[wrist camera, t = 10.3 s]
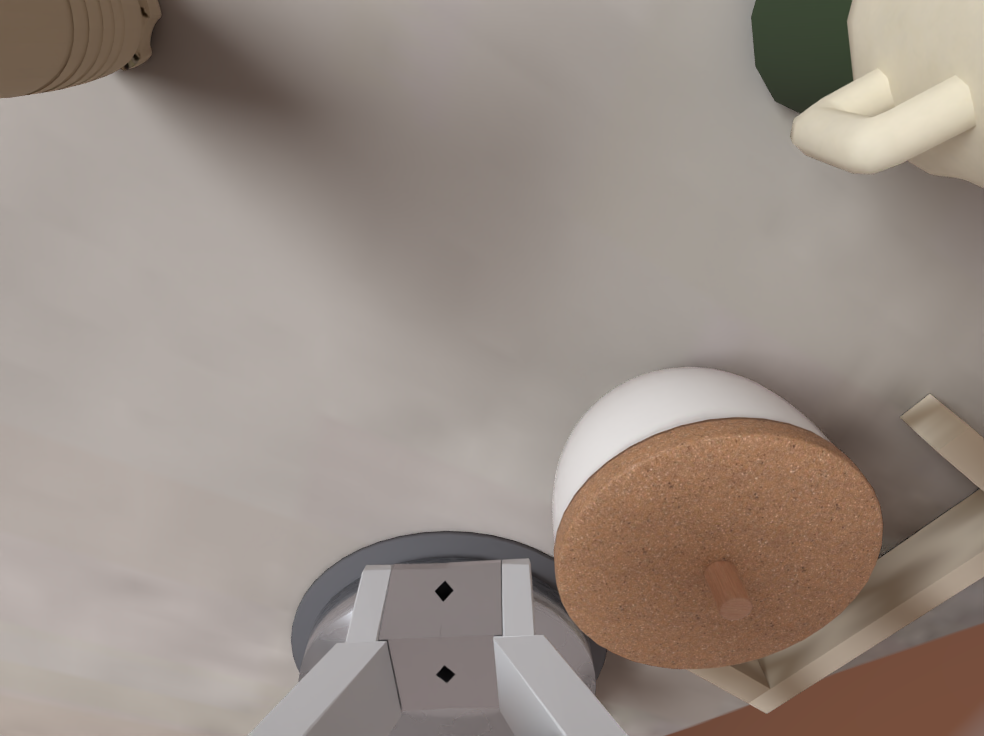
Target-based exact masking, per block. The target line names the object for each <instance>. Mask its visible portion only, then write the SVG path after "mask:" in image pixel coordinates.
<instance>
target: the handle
mask: <svg viewBox="0 0 984 736" xmlns="http://www.w3.org/2000/svg"><path fill="white" fill-rule="evenodd" d="M161 16H162V15H161V9H160V6H159V3H158V0H0V98H10V97H17V96H24V95H30V94H37V93H43V92H49V91H55V90H61V89H65V88H69V87H72V86H76V85H80V84H84V83H87V82H90V81H93V80H96V79H99V78H102V77H105V76H107V75H109V74H111V73H113V72H115V71H117V70H119V69H122V70H123V71H124V70H128V69H131V68H134V67H137V66H139V65H141V64H142V63H144V62H145V61H147V60H148V59H149V58H150V56H151V55H152V49H151V47H150V40H151V34H152V31H153V28H154V25H155V24H156V22H157V20H158V19H160V18H161Z"/></svg>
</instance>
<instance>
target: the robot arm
mask: <svg viewBox="0 0 984 736" xmlns="http://www.w3.org/2000/svg"><path fill="white" fill-rule="evenodd" d="M447 708H500V712H501V714H502V715H503V717H504V719H505V720H506V722H507V724H508V725H509V727H510V729H511V731H512V732H513V734H514V736H628V735H627V734H626V732H625V731H624V730H623V729H622V728H621V726H620V725H619V724H618V723H617V722H616V720H615V719H614V718H613V717H612V716H611V714H610V713H609V712H608V711H607V710H606V708H605V707H604V706H603V705H602V704H601V702H600V701H599V700H598V699H597V698H596V696H595V695H594V694H593V693H592V692H591V690H590V689H589V688H588V687H587V686H586V684H585V683H584V682H583V681H582V680H581V678H580V677H579V676H578V675H577V674H576V672H575V671H574V670H573V669H572V667H571V666H570V665H569V664H568V663H567V661H566V660H565V659H564V658H563V657H562V655H561V654H560V653H559V652H558V651H557V649H556V648H555V647H554V646H553V645H552V643H551V642H550V641H549V640H548V639H547V637H546V636H545V635H536V629H535V616H534V602H533V589H532V575H531V562H530V560H529V558H526V559H506V560H502V562H501V560H486V561H468V562H449V563H428V564H394V565H366V567H365V568H364V570H363V572H362V575H361V579H360V583H359V587H358V591H357V596H356V600H355V604H354V608H353V612H352V616H351V620H350V625H349V629H348V633H347V637H346V641H345V642H344V643H336V644H335V645H334V646H333V647H332V649H331V650H330V651H329V652H328V653H327V654H326V655H325V656H324V657H323V658H322V659H321V660H320V661H319V662H318V663H317V664H316V665H315V666H314V667H313V668H312V669H311V670H310V671H309V672H308V673H307V674H306V675H305V676H304V677H303V678H302V679H301V681H300V682H299V683H298V684H297V685H296V686H295V687H294V688H293V689H292V690H291V691H290V692H289V693H288V694H287V695H286V696H285V697H284V698H283V699H282V700H281V701H280V702H279V703H278V704H277V705H276V706H275V707H274V708H273V709H272V710H271V712H270V713H269V714H268V715H267V716H266V717H265V718H264V719H263V720H262V721H261V722H260V723H259V724H258V725H257V726H256V727H255V728H254V729H253V730H252V731H251V732H250V733H249V734H248V735H247V736H388V735H389V733H390V732H391V730H392V729H393V727H394V726H395V724H396V723H397V721H398V720H399V718H400V717H401V715H402V713H401V711H417V710H432V709H447Z"/></svg>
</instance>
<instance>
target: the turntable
mask: <svg viewBox="0 0 984 736" xmlns="http://www.w3.org/2000/svg"><path fill="white" fill-rule="evenodd" d="M468 561H482V560H476V559H467V558H453V557H452V558H428V559H420V560H412V561H407V562H403V563H398V564H428V563H449V562H468ZM360 579H361V577H360V578H358V579H357V580H355V581H354V582H352V583H350V584H349V585H347V586H346V587H344V588H343V589H342V590H340V591H339V592H338V593H337V594H336V595H334V596H333V597H332V598H331V599H330V600H329V602H328V603H327V604H326V605H325V606H324V607H323V608H322V610H321V612H320V613H319V615H318V616H317V618H316V620H315V622H314V625H313V627H312V630H311V633H310V636H309V640H308V643H307V647H306V650H305V654H304V657H303V661H302V664H301V668H300V674H299V682H300V681H301V679H302V678H303V677H304V676H305V675H306V674H307V673H308V672H309V671H310V670H311V669H312V668H313V667H314V666H315V665H316V664H317V663H318V662H319V661H320V660H321V659H322V658H323V657H324V656H325V655H326V654H327V653H328V652H329V651H330V650H331V649H332V647H333V646H334V645H335V644H336V643H344V642H345V641H346V637H347V633H348V629H349V625H350V620H351V616H352V612H353V608H354V604H355V600H356V596H357V591H358V587H359V583H360ZM532 589H533V602H534V616H535V629H536V635H545V636H546V637H547V639H548V640H549V641H550V642H551V643H552V645H553V646H554V647H555V648H556V649H557V651H558V652H559V653H560V654H561V655H562V657H563V658H564V659H565V660H566V661H567V663H568V664H569V665H570V666H571V667H572V669H573V670H574V671H575V672H576V674H577V675H578V676H579V677H580V678H581V680H582V681H583V682H584V683H585V684H586V686H587V687H588V688H589V689H590V690H591V692H592V693H593V694H594V695H595V691H596V680H595V671H594V666H593V660H592V654H591V649H590V643H589V638H588V636H587V635H586V634H585V633H584V632H582V631H581V630H580V629H579V627H578V626H577V625H576V624H575V623H574V621H573V620H572V619H571V618H570V617H569V615H568V613H567V611H566V609H565V607H564V605H563V604H562V602H561V598H560V595H559V592H557V591H556V590H554V589H553V588H552V587H550V586H549V585H547V584H546V583H544V582H543V581H541V580H539V579H537V578H535V577H533V576H532ZM401 713H402V715H401V717H400V718H399V720H398V721H397V723H396V724H395V726H394V727H393V729H392V730H391V732H390V733H389V735H388V736H514V734H513V732H512V731H511V729H510V727H509V725H508V724H507V722H506V720H505V719H504V717H503V715H502V714H501V712H500V708H447V709H432V710H417V711H401Z"/></svg>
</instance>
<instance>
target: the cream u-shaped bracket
mask: <svg viewBox="0 0 984 736" xmlns="http://www.w3.org/2000/svg"><path fill="white" fill-rule="evenodd" d="M900 418H901V419H902V420H903V421H904V422H906V423H907V424H908V425H909V426H910V427H911V428H912V429H913V430H914V431H915V432H916V433H917V434H919V435H920V436H921V437H922V438H923V439H924V440H925V441H926V442H927V443H928V444H929V445H930V446H932V447H933V448H934V449H935V450H936V451H937V452H938V453H939V454H940V455H942V456H943V457H944V458H945V459H946V460H947V461H949V462H950V463H951V464H952V465H953V466H954V467H956V468H957V469H958V470H959V471H960V472H961V473H963V474H964V475H965V476H966V477H967V478H968V479H970V480H971V481H972V482H973V483H974V484H975V485H977V486H978V487H979V488H980V489H979V490H978V491H976V492H975V493H973V494H972V495H970V496H969V497H967V498H966V499H965V500H963V501H962V502H960V503H959V504H957V505H956V506H954V507H953V508H952V509H950V510H949V511H947V512H946V513H944V514H943V515H941V516H940V517H938V518H937V519H936V520H934V521H933V522H931V523H930V524H928V525H927V526H925V527H924V528H923V529H921V530H920V531H918V532H917V533H915V534H914V535H912V536H911V537H910V538H908V539H907V540H905V541H904V542H902V543H901V544H899V545H898V546H897V547H895V548H894V549H892V550H891V551H889V552H888V553H886V554H885V555H884V556H882V557H881V558H879V559H878V560H877V562H876V565H875V567H874V569H873V571H872V573H871V575H870V577H869V580H868V582H867V583H866V584H865V586H864V587H863V588H862V590H861V591H860V592H859V594H858V595H857V596H856V598H855V599H854V600H853V601H852V602H851V603H850V604H849V605H848V606H847V607H846V609H845V610H844V611H843V612H842V613H841V614H840V615H838V616H837V617H836V618H835V619H833V620H832V621H831V622H829V623H828V624H827V625H826V626H824V627H823V628H822V629H820V630H818V631H817V632H815V633H814V634H812V635H811V636H809V637H808V638H806V639H805V640H803V641H801V642H798V643H796V644H794V645H792V646H790V647H788V648H786V649H784V650H781V651H779V652H776V653H774V654H771V655H768V656H766V657H763V658H760V659H756V660H752V661H749V662H745V663H741V664H736V665H730V666H725V667H719V668H707V669H687V670H688V671H690V672H692V673H694V674H696V675H698V676H699V677H701V678H703V679H705V680H707V681H708V682H710V683H712V684H714V685H716V686H717V687H719V688H721V689H723V690H725V691H727V692H728V693H730V694H732V695H734V696H736V697H737V698H739V699H741V700H743V701H745V702H746V703H748V704H750V705H752V706H754V707H756V708H758V709H759V710H761V711H763V712H765V713H766V714H767V713H769V712H770V711H772V710H774V709H775V708H777V707H778V706H780V705H782V704H783V703H785V702H786V701H788V700H789V699H791V698H793V697H794V696H796V695H797V694H799V693H801V692H802V691H803V690H805V689H807V688H808V687H810V686H811V685H813V684H815V683H816V682H818V681H820V680H821V679H823V678H824V677H826V676H827V675H829V674H831V673H832V672H834V671H835V670H837V669H839V668H840V667H842V666H843V665H845V664H846V663H848V662H850V661H851V660H853V659H854V658H856V657H857V656H859V655H861V654H862V653H864V652H865V651H867V650H869V649H870V648H872V647H873V646H875V645H876V644H878V643H880V642H881V641H883V640H884V639H886V638H888V637H889V636H891V635H892V634H894V633H895V632H897V631H899V630H900V629H902V628H903V627H905V626H907V625H908V624H910V623H911V622H913V621H914V620H916V619H918V618H919V617H921V616H922V615H924V614H926V613H927V612H929V611H930V610H932V609H933V608H935V607H937V606H938V605H940V604H941V603H943V602H945V601H946V600H948V599H949V598H951V597H952V596H954V595H956V594H957V593H959V592H960V591H962V590H964V589H965V588H967V587H968V586H970V585H971V584H973V583H975V582H976V581H978V580H979V579H981V578H982V577H984V438H983V437H982V436H980V435H979V434H978V433H977V432H976V431H975V430H974V429H973V428H972V427H970V426H969V425H968V424H967V423H966V422H964V421H963V420H962V419H961V418H959V417H958V416H957V415H956V414H954V413H953V412H952V411H951V410H949V409H948V408H947V407H946V406H944V405H943V404H942V403H941V402H940V401H938V400H937V399H936V398H935V397H933V396H932V395H931V394H929V395H927V396H926V397H925V398H924V399H922V400H921V401H920V402H919V403H917V404H916V405H915V406H913V407H912V408H911V409H910V410H908V411H907V412H906V413H904V414H903V415H902V416H901V417H900Z"/></svg>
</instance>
